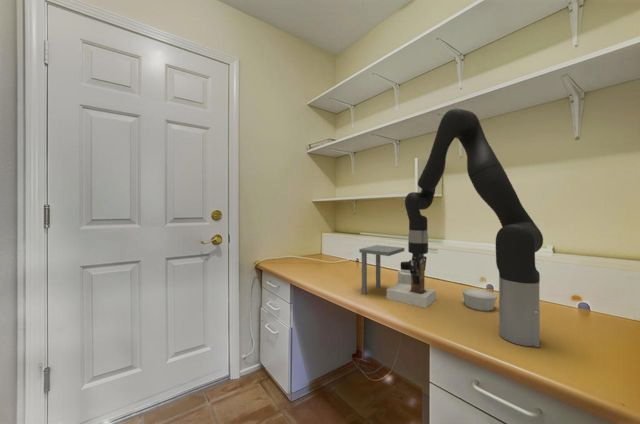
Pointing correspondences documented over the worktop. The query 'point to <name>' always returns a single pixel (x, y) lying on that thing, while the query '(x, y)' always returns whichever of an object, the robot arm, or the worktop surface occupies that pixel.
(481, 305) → the ramekin
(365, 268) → the grey miniature table
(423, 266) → the peg
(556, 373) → the worktop surface
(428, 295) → the socket block
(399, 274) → the medicine bottle
